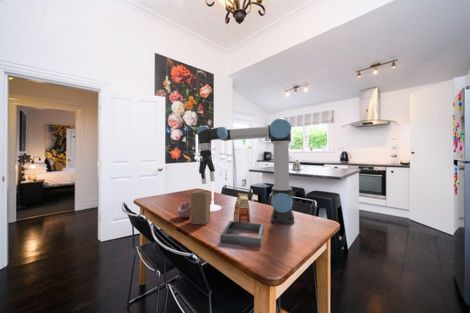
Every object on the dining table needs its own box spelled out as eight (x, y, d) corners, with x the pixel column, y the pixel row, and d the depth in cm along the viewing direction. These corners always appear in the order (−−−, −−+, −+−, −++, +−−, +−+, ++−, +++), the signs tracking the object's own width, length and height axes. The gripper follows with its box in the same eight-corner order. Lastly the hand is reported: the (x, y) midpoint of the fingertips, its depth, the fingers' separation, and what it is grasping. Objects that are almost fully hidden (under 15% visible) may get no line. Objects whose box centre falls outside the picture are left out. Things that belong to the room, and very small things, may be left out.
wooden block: (205, 225, 119) (205, 193, 119) (190, 224, 121) (190, 192, 121) (210, 219, 129) (210, 190, 129) (196, 218, 131) (196, 189, 131)
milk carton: (238, 227, 115) (238, 194, 115) (232, 222, 124) (232, 191, 123) (252, 225, 119) (251, 193, 118) (245, 220, 127) (245, 190, 127)
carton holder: (263, 230, 111) (263, 223, 111) (260, 246, 92) (260, 238, 92) (230, 227, 116) (230, 220, 115) (220, 242, 96) (220, 234, 96)
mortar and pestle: (173, 217, 135) (173, 201, 135) (189, 213, 143) (188, 198, 143) (181, 221, 126) (181, 204, 126) (197, 217, 134) (197, 201, 134)
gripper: (207, 151, 139) (210, 180, 138) (191, 150, 115) (194, 185, 114) (217, 150, 137) (220, 179, 136) (202, 148, 113) (206, 184, 112)
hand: (208, 182), depth 125 cm, fingers open, 13 cm apart
